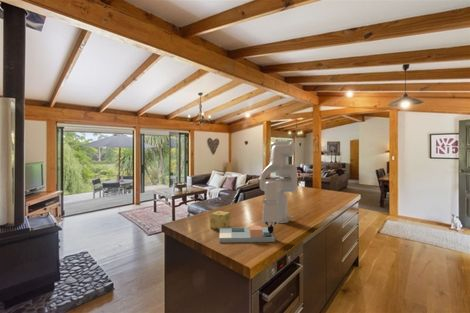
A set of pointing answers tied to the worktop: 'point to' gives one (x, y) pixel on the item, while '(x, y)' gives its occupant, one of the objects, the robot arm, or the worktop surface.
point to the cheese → (220, 220)
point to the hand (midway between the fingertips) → (270, 232)
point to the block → (255, 231)
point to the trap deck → (244, 235)
